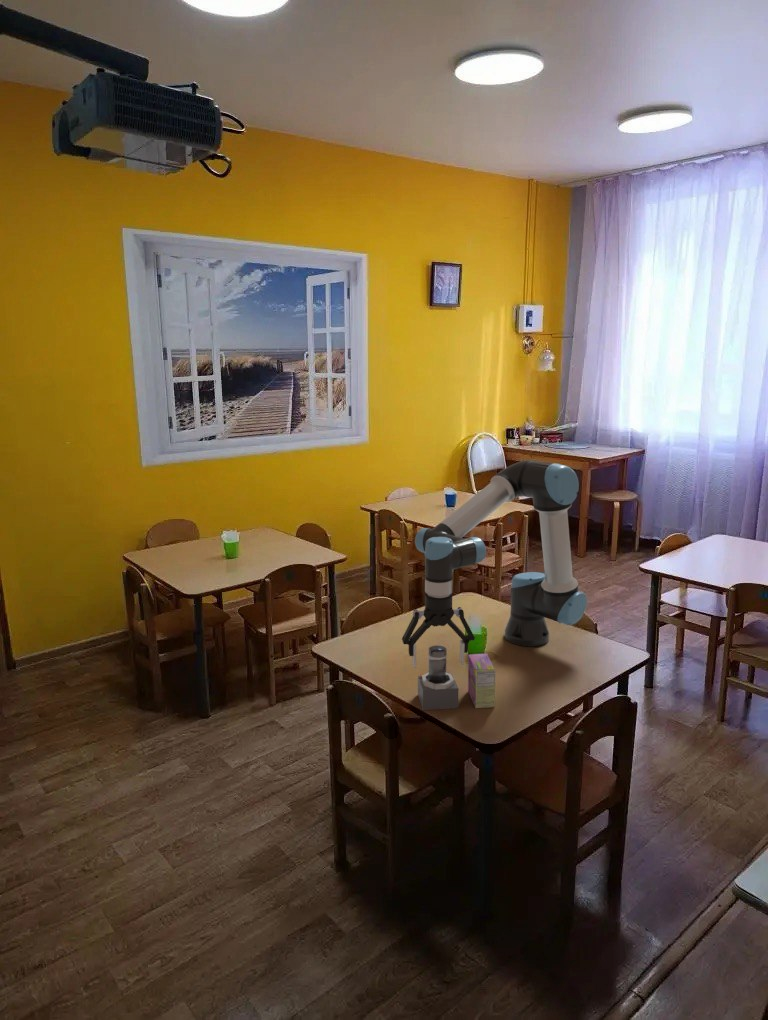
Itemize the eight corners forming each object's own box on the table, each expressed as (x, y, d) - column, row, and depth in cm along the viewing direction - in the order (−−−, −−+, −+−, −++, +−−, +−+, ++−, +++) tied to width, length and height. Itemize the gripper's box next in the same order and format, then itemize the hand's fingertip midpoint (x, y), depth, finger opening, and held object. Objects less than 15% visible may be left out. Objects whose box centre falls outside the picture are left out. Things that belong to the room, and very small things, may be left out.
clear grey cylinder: (444, 677, 198) (444, 644, 196) (448, 685, 193) (448, 652, 191) (426, 678, 197) (427, 645, 195) (430, 686, 192) (430, 653, 190)
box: (467, 691, 202) (468, 654, 200) (486, 690, 203) (487, 653, 200) (474, 709, 192) (475, 670, 190) (494, 708, 193) (496, 669, 190)
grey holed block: (451, 692, 201) (451, 669, 200) (458, 708, 193) (458, 684, 191) (417, 694, 200) (417, 672, 199) (423, 710, 192) (423, 686, 190)
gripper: (479, 586, 194) (478, 656, 199) (392, 590, 192) (392, 661, 196) (486, 595, 187) (484, 667, 192) (395, 600, 184) (396, 673, 189)
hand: (438, 664), depth 194 cm, fingers open, 13 cm apart
